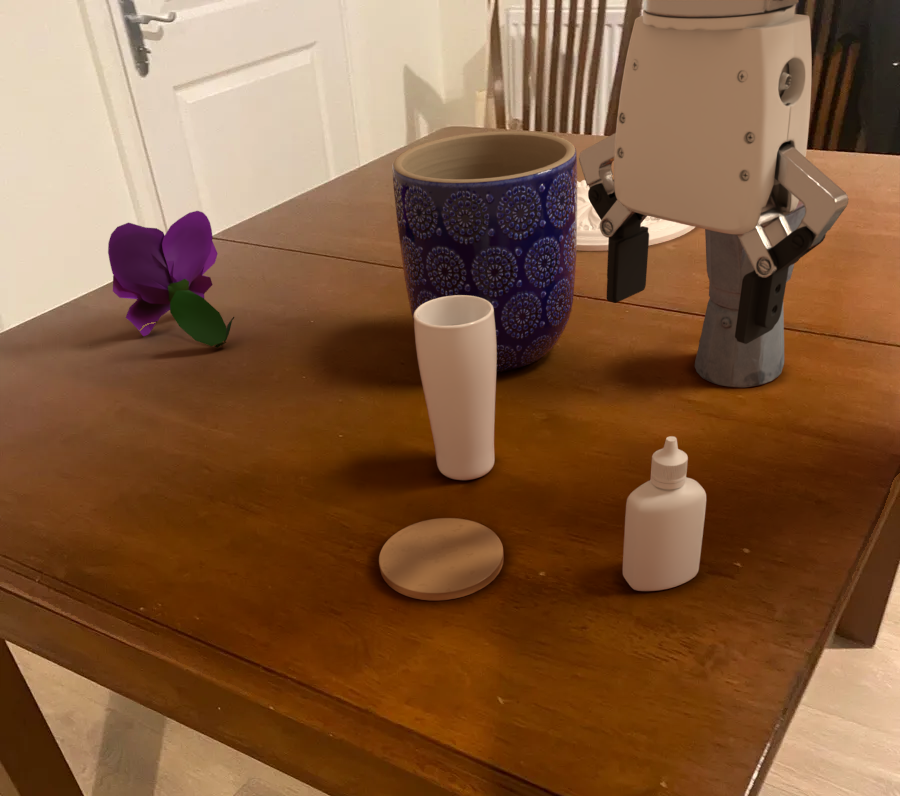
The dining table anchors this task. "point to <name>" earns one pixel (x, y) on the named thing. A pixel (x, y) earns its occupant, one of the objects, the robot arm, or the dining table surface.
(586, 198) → the ceiling medallion
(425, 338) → the drinking glass
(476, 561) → the cork trivet
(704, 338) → the moka pot
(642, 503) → the eye dropper bottle
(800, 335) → the dining table surface
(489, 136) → the planter
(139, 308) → the flower
